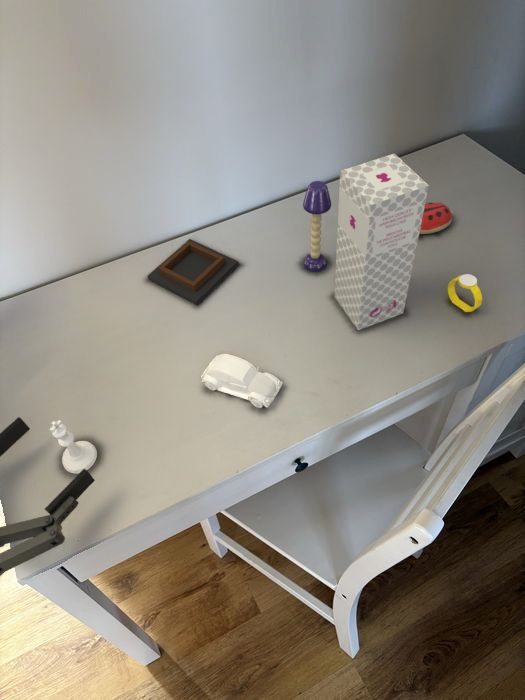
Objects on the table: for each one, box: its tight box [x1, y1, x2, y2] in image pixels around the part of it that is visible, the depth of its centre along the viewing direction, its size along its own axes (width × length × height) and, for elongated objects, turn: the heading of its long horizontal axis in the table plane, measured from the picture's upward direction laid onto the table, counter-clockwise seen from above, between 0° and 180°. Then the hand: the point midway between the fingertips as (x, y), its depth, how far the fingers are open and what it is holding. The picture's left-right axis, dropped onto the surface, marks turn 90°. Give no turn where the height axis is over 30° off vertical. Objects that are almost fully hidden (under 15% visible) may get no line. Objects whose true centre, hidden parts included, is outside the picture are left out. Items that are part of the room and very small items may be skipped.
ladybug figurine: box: [419, 202, 454, 235], centre depth 101 cm, size 7×10×4 cm
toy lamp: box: [302, 180, 332, 272], centre depth 92 cm, size 5×5×17 cm
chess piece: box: [49, 419, 98, 474], centre depth 73 cm, size 5×5×10 cm
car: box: [200, 352, 283, 409], centre depth 81 cm, size 12×6×5 cm, turn 61°
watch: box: [447, 273, 483, 313], centre depth 87 cm, size 6×3×6 cm, turn 34°
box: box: [334, 153, 430, 331], centre depth 81 cm, size 8×8×25 cm
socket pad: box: [147, 238, 240, 306], centre depth 98 cm, size 12×12×2 cm
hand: (56, 447), depth 72 cm, fingers open, 13 cm apart
